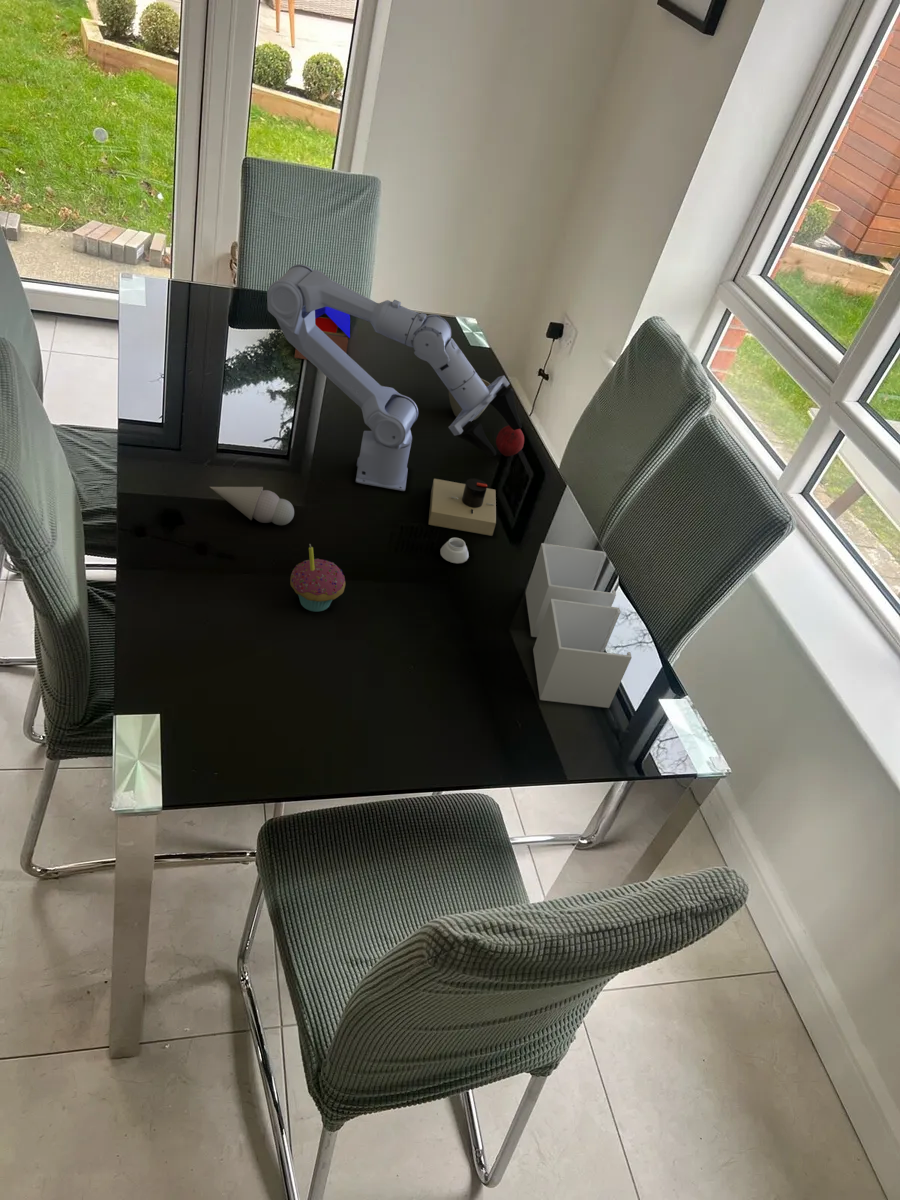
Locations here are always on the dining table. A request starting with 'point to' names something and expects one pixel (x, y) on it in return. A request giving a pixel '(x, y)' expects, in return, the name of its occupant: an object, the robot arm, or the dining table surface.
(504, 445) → the onion
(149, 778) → the dining table surface
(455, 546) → the white jar
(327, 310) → the house
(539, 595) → the storage container
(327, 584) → the cupcake
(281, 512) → the ice cream cone
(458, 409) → the flower pot
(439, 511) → the panel
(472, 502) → the knob
